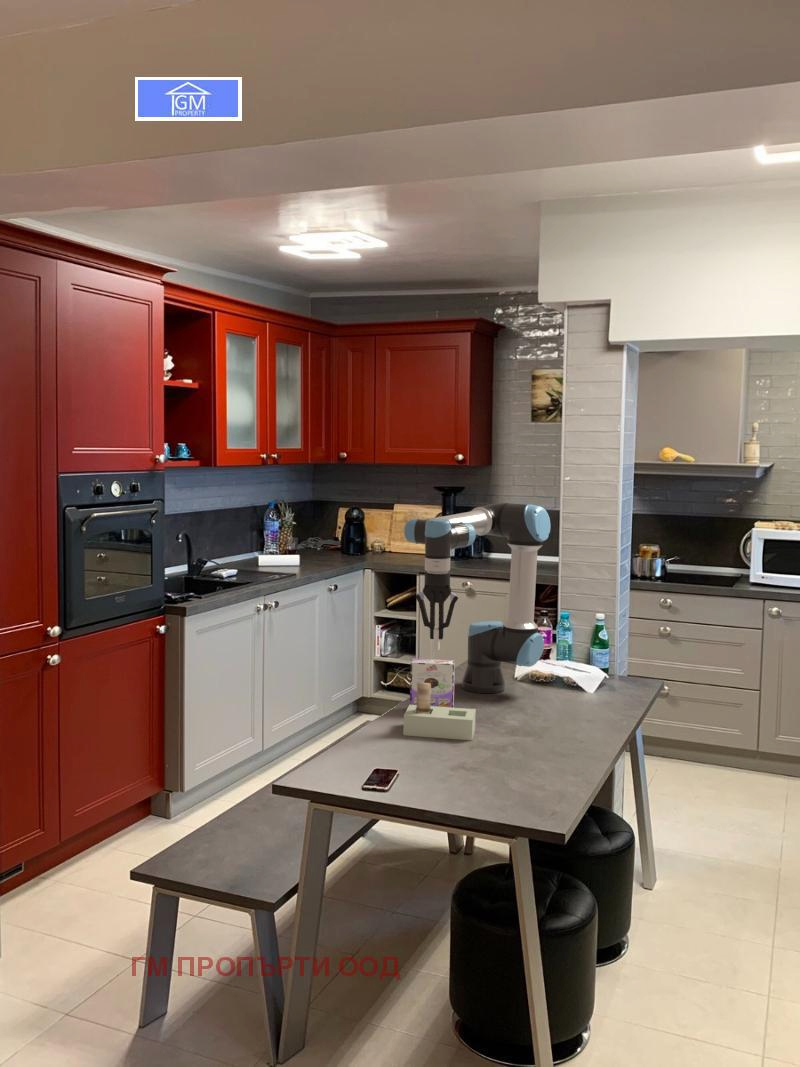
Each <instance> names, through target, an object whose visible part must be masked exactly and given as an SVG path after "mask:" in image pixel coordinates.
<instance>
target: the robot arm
mask: <svg viewBox="0 0 800 1067" xmlns="http://www.w3.org/2000/svg"><path fill="white" fill-rule="evenodd" d="M551 525H552V524H551V519H550V516H549V513H548V512H547V510H546V509H545V508H544V507H542V506H539V505H535V504H524V503H509V502H498V503H492V504H486V505H483V506H482V505H481V506H477V507H474V508H473V509H472V510H470V511H467V512H460V513H456V514H449V515H444V516H439V517H438V516H437V517H433V518H426V519H419V518H411V519H409V520H408V521H407V522H406V523H405V525H404V529H403V530H404V532H403V533H404V534H403V535H404V539H406V541H407V542H408V543H412V544H413V543H414V544H415V545H418V544H420V545H424V548H425V550H424V551H425V552H424V553H425V554H424V571H426V572H424V586H423V588H422V591H421V592H417V594H415V599H416V600H417V602H418V605H419V609H420V614H421V618H422V622H423V626H424V627H428V628H429V638H430V640H433V647H432V648H433V650H432V651H433V652H439V650H440V645H441V644H440V641H441V640H443V638H444V629H445V628H448V627H450V623H451V621H452V617H453V612H454V610H455V609H454V608H455V604H456V603H457V601H458V600H459V595H458V594H455V593H454V592H452V588H451V573H450V571H451V550H455V549H461V548H467V547H469V546H471V545H472V544H474V542H475V540H476V537H477V536H494V537H500V538H507V543H506V544H507V546H509V548H510V549H511V556H510V557H511V558H510V575H509V593H508V594H509V595H508V613H507V614H508V615H507V620H506V621H505V622H504V623H503V622H502V621H497V620H487V621H486V620H485V621H479V622H478V621H477V622H473V623H471V624H470V625H469V627H468V633H467V637H468V638H467V664H466V667H465V668H466V669H465V670H464V674H463V676H462V680H461V688H462V689H463V690H465V691H467V692H473V693H478V694H495V693H496V694H497V693H501V692H504V691H505V690H506V679H505V676H504V673H503V669H502V663H506V664H510V665H514V666H518V667H527V668H528V667H529V668H531V667H533V666H535V665H536V664H537V663H538V662H539V660H540V659H541V657H542V655H543V651H544V648H545V639H544V636H543V635H542V634H541V633H539V626H538V624H536V622H535V601H536V583H537V566H538V565H537V564H538V551H539V550H540V549H541V548H542V547H543V542H544V541H546V540H548V538H549V535H550V533H551ZM425 597H426V599H427V601H428V602H429V617H428V614H427V608H426V604H425V600H424V599H425ZM449 597H450V598H449ZM448 598H449V599H450V601H451V602H450V603H449V607H448V611H447V615H446V620H445V619H444V618H445V613H444V612H445V611H444V610H445V607H444V606H445V602H446V601H447V600H448ZM436 603H437V604H438V627H436ZM444 620H445V621H444Z"/></svg>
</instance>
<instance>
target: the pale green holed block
mask: <svg viewBox="0 0 800 1067" xmlns="http://www.w3.org/2000/svg"><path fill="white" fill-rule="evenodd" d="M416 709H417V705H410V704H409V705H408V707H407V709H406V710H405V712H404V714H403V731H402V732H403V733H402V734H403V736H408V737H410V736H411V737H423V738H433V739H434V738H437V739H446V740H447V739H450V740H461V741H473V738H474V735H475V734H474V733H475V730H476V716H477V715H476V714H477V712H476V711H477V709H476V708H465V707H464V708H463V707H461V708H460V707H454V708H451V707H437V706H430V714H422V713H417V710H416Z"/></svg>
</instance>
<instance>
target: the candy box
mask: <svg viewBox="0 0 800 1067" xmlns="http://www.w3.org/2000/svg"><path fill="white" fill-rule="evenodd" d="M409 677H410V678H409V679H410V681H409V682H410V685H409V686H410V688H409V691H410V692H409V705H417V684H418V683H429V684H431V701H430V706H437V707H451V708H455V707H454V703H455V702H454V701H455V660H454V659H437V658H436V659H433V658H432V659H431V658H430V659H429V658H412V659H411V661H410V676H409Z"/></svg>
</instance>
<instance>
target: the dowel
mask: <svg viewBox="0 0 800 1067" xmlns="http://www.w3.org/2000/svg"><path fill="white" fill-rule="evenodd" d="M430 701H431V684H429V683H418V684H417V709H416V710H417V713H422V714H430Z"/></svg>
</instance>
